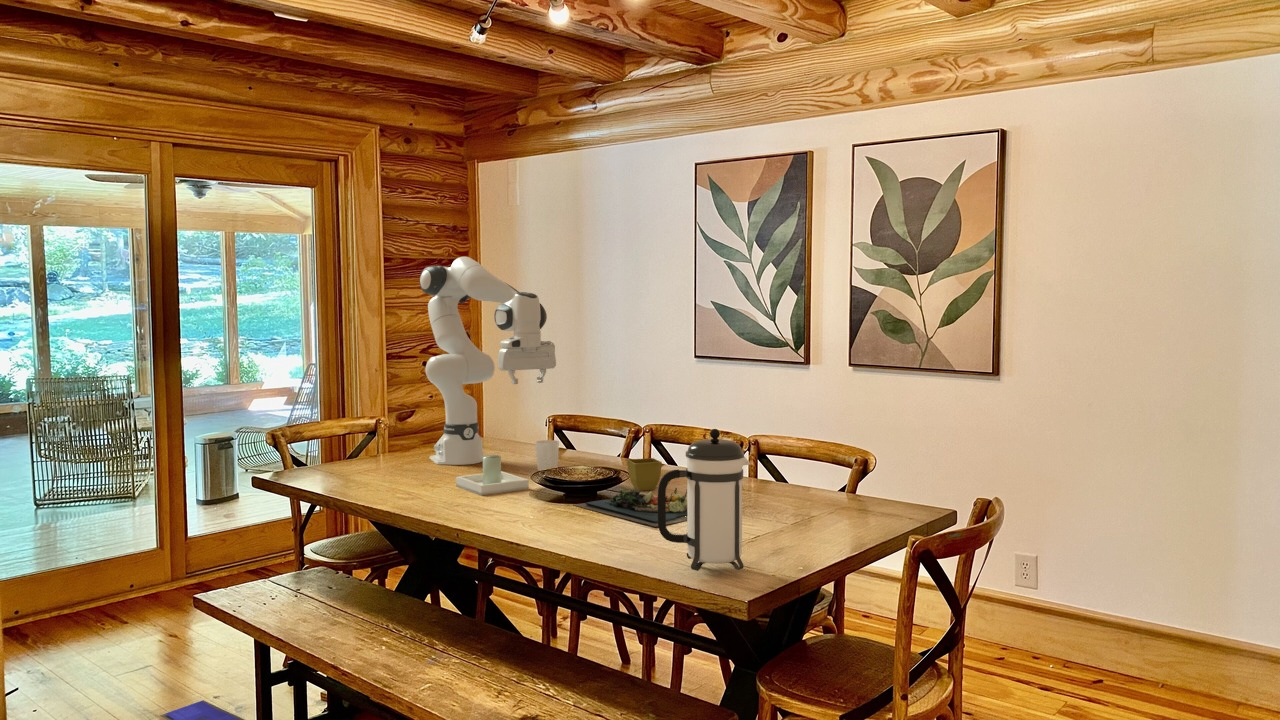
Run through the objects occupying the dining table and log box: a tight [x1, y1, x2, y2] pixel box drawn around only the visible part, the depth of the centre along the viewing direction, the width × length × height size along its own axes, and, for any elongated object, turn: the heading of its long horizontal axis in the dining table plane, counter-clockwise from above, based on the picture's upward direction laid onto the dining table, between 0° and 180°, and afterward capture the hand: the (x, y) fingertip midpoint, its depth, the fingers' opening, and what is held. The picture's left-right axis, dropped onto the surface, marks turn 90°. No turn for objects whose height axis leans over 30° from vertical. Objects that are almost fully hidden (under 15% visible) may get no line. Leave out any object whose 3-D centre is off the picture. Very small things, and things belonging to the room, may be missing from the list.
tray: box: [455, 470, 530, 496], centre depth 293 cm, size 18×16×3 cm
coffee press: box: [657, 428, 751, 572], centre depth 206 cm, size 17×16×30 cm
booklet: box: [159, 700, 245, 720], centre depth 303 cm, size 12×25×1 cm, turn 54°
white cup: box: [535, 439, 560, 472], centre depth 323 cm, size 8×8×10 cm
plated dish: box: [573, 487, 687, 527], centre depth 265 cm, size 35×28×7 cm
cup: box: [482, 454, 502, 485], centre depth 293 cm, size 6×6×9 cm
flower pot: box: [626, 457, 663, 492], centre depth 290 cm, size 9×9×9 cm
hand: (527, 383), depth 311 cm, fingers open, 8 cm apart
